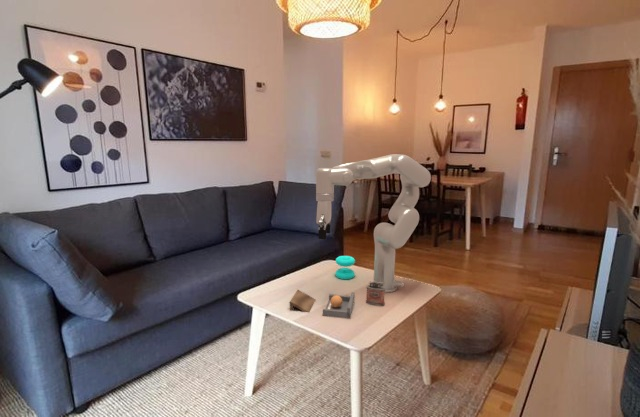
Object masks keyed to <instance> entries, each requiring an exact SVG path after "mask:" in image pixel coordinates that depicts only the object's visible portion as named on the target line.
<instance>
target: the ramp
mask: <svg viewBox="0 0 640 417" xmlns="http://www.w3.org/2000/svg"><path fill="white" fill-rule="evenodd" d="M315 302H316V298H314V297H311V296H310V295H308V294H306V293H305V292H303V291H302V290H300V289H297V290H296V291H295V293H294V295H293V296H292V298H291V299H290V300H289V302H288V303H289V311H294V310H295V308H296V309H298V310H300V311H302V312H303V313H310V312H311V311H312V308H313V307H314V304H315Z"/></svg>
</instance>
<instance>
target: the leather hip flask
mask: <svg viewBox="0 0 640 417" xmlns="http://www.w3.org/2000/svg"><path fill="white" fill-rule="evenodd" d="M373 281H374V280H373ZM373 281H369V282H368V285H366V286H365V287H366V298H365V299H366V300H365V303H366V304H367V305H372V306H377V307H378V306H379V307H384V306H385V288H384V287H381V286H384V283H381V282H377V281H374V282H373Z"/></svg>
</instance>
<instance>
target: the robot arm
mask: <svg viewBox="0 0 640 417" xmlns="http://www.w3.org/2000/svg"><path fill="white" fill-rule="evenodd" d="M315 173H316V175H315V176H316V177H315V178H316V179H315V190H316V191H315V199H316V200H315V201H316V202H317V205H316V220H315V221H316V224H317V225H318V239H319V240H326V239H327V234H330V233H331V220H332V202H334V201H335V199H334V198H335V186H348V185H350V184H351V183H352V182H353V181H354V180H355V179H356V180H357V179H364V180H365V179H366V180H368V179H370V180H371V179H376V178H380V177H384V176H388V175H392V174H393V175H394V174H398V175H399V178H400V181H401V192H400V194H399V196H398V197H397V199H396V200H395V202H394V203H393V205H392V206H391V207H390V209H389V211H388V219H389V220H390V222H392V223H394V224H391V223H388V222H380V223H378V224H377V225H376V226H375V227H374V229H373V241H374V242H373V243H374V264H373V265H374V268H373V281H372V282H374V281H377V282H381V283H384V286H381V287H384V288H385V293H386V294H387V293H393V292H396V291H397V289H398V287H404V282H402V281H401V280H397V279H396V278H395V267H396V266H395V265H396V250H398V249H400V248H402V247H403V246H404V245H405V244H406V243H407V241H408V240H409V238H410V237H411V235H412V234H413V233H414V231H415V230H416V227H417V226H418V224H419V221H420V214H419V212H418V210H417V209H416V208H415V206H416V205H417V203H418V200H419V198H420V189H419V188H424V187H427V186H428V185H429V184H430V182H431V179H432V176H431V172H430V171H429V170H428V168H426V167H425V166H423V165H422V164H421V163H419V162H417V161H416V160H415V159H413V158H412V157H411V156H408V155H406V154H398V153H397V154H396V153H394V154H393V153H391V154H387V155H383V156H379V157H374V158H370V159H365V160H364V159H363V160H359V161H354V162H347V163H343V164H340V165H339V164H338V165H335V166H333V167H332V168H331V167H319V168H317V169H316V172H315Z"/></svg>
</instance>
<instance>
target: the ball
mask: <svg viewBox="0 0 640 417" xmlns="http://www.w3.org/2000/svg"><path fill="white" fill-rule="evenodd" d="M334 295H335V296H333V297H332V298H331V305H332V306H333V307H336V308H337V307H340V306H341V305H342V298H341V297H340V296H338V295H339V294H334Z"/></svg>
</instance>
